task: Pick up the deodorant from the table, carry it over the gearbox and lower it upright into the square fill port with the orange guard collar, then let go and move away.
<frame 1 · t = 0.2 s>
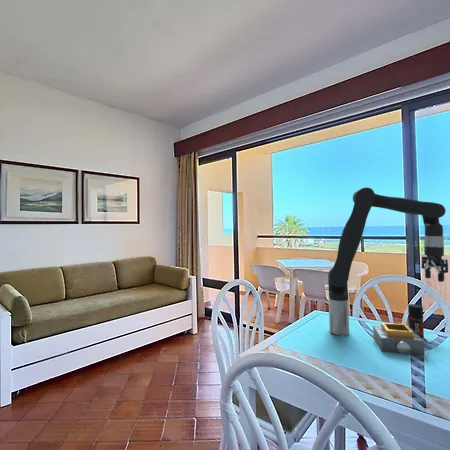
hand: (434, 279, 136), 28 cm above the table, tool pointing down, fingers open, 8 cm apart
deodorant: (416, 337, 139), on the table
gearbox: (397, 346, 129), on the table
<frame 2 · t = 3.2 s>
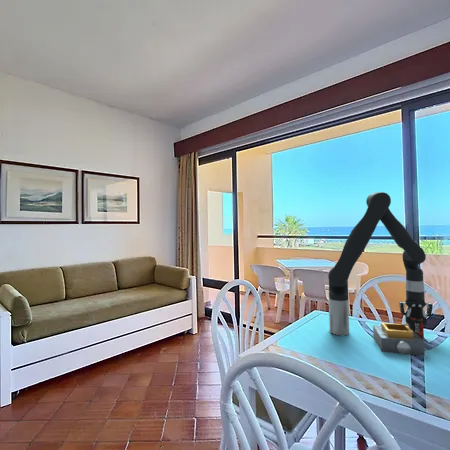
hand: (416, 324, 139), 6 cm above the table, tool pointing down, fingers closed on deodorant, 6 cm apart
deodorant: (416, 337, 139), on the table, touching gripper
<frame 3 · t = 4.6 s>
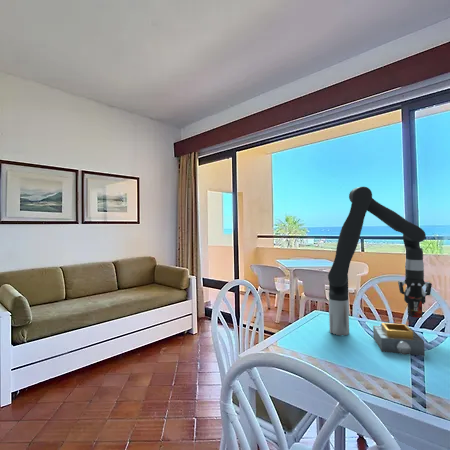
hand: (414, 303, 139), 16 cm above the table, tool pointing down, fingers closed on deodorant, 6 cm apart
deodorant: (414, 316, 139), point 10 cm above the table, touching gripper
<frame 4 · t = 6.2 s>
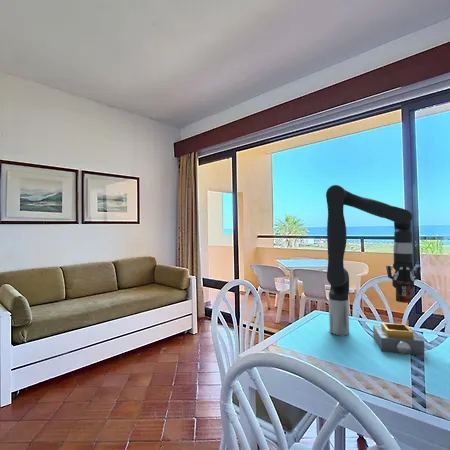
hand: (403, 288, 133), 25 cm above the table, tool pointing down, fingers closed on deodorant, 6 cm apart
deodorant: (403, 301, 134), point 19 cm above the table, touching gripper
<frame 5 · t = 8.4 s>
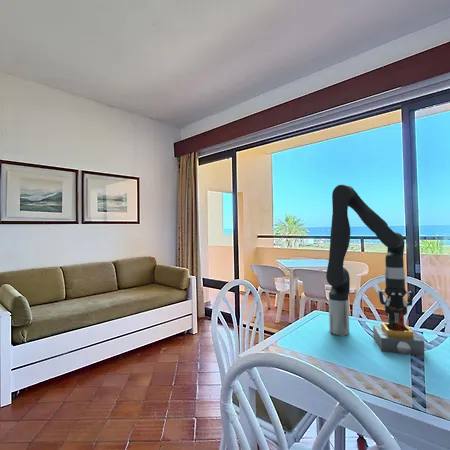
hand: (396, 314, 129), 14 cm above the table, tool pointing down, fingers closed on deodorant, 6 cm apart
deodorant: (396, 328, 129), point 8 cm above the table, touching gripper
when the fingers open (11 cm above the table, at t = 9.7 s): deodorant drops 1 cm, resting on gearbox.
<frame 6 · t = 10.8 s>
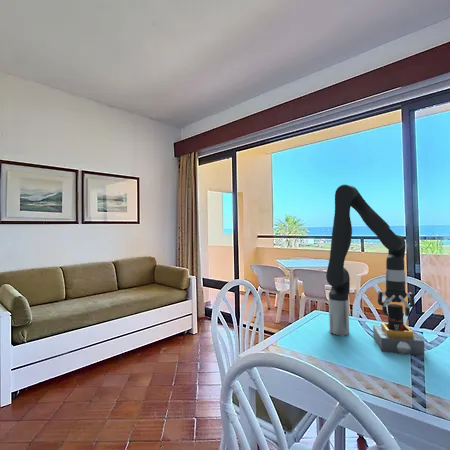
hand: (395, 315, 129), 14 cm above the table, tool pointing down, fingers open, 8 cm apart
deodorant: (396, 339, 129), point 3 cm above the table, touching gearbox
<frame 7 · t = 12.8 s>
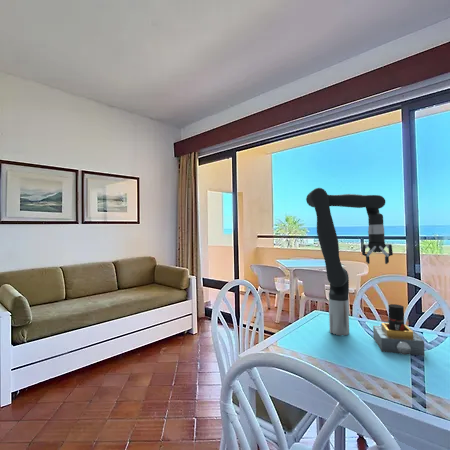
hand: (377, 263, 152), 34 cm above the table, tool pointing down, fingers open, 8 cm apart
nothing on the table moved.
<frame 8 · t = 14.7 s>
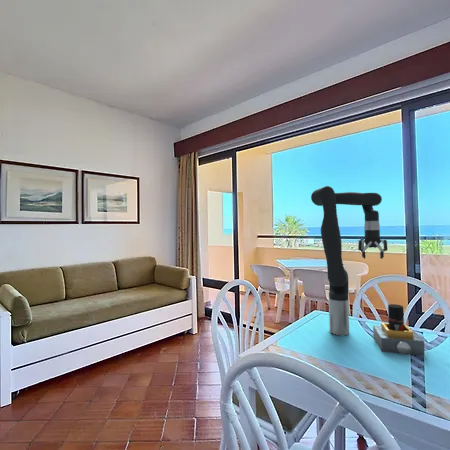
hand: (372, 258, 159), 36 cm above the table, tool pointing down, fingers open, 8 cm apart
nothing on the table moved.
at the end: deodorant 0.1 cm off-centre on the gearbox, point 2.8 cm above the gearbox's base; deodorant tilted 0°; the gripper is holding nothing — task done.
